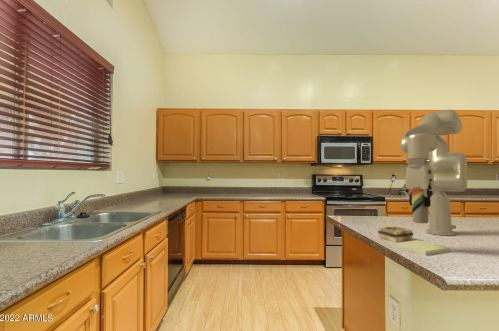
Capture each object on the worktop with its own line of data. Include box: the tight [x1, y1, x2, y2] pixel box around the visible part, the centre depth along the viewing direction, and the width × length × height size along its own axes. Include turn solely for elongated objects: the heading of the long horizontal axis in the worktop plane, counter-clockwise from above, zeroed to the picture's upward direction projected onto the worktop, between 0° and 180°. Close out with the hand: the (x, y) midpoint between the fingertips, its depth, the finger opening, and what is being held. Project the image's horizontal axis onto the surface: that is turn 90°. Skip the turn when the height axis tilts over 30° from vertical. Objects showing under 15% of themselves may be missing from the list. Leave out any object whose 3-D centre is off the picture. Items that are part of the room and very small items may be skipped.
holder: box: [377, 226, 414, 243], centre depth 132 cm, size 11×11×5 cm
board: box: [394, 239, 451, 256], centre depth 114 cm, size 14×14×2 cm
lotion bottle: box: [411, 186, 429, 224], centre depth 115 cm, size 6×6×20 cm
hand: (419, 205), depth 115 cm, fingers closed on lotion bottle, 5 cm apart
